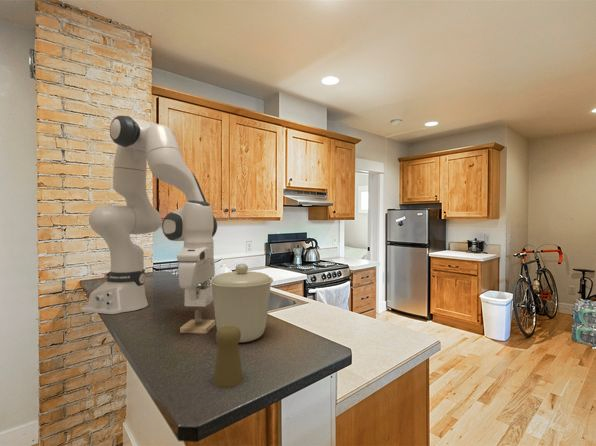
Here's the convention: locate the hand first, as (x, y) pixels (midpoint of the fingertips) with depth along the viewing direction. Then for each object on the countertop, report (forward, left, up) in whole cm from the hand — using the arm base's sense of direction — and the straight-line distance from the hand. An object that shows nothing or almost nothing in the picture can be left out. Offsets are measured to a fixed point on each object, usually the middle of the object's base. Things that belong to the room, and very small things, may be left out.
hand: (198, 297), depth 96 cm
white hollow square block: (0, 0, -2) cm, 2 cm away
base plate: (0, 0, -10) cm, 10 cm away
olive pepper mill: (+18, -30, -10) cm, 36 cm away
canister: (+15, -5, -10) cm, 18 cm away
